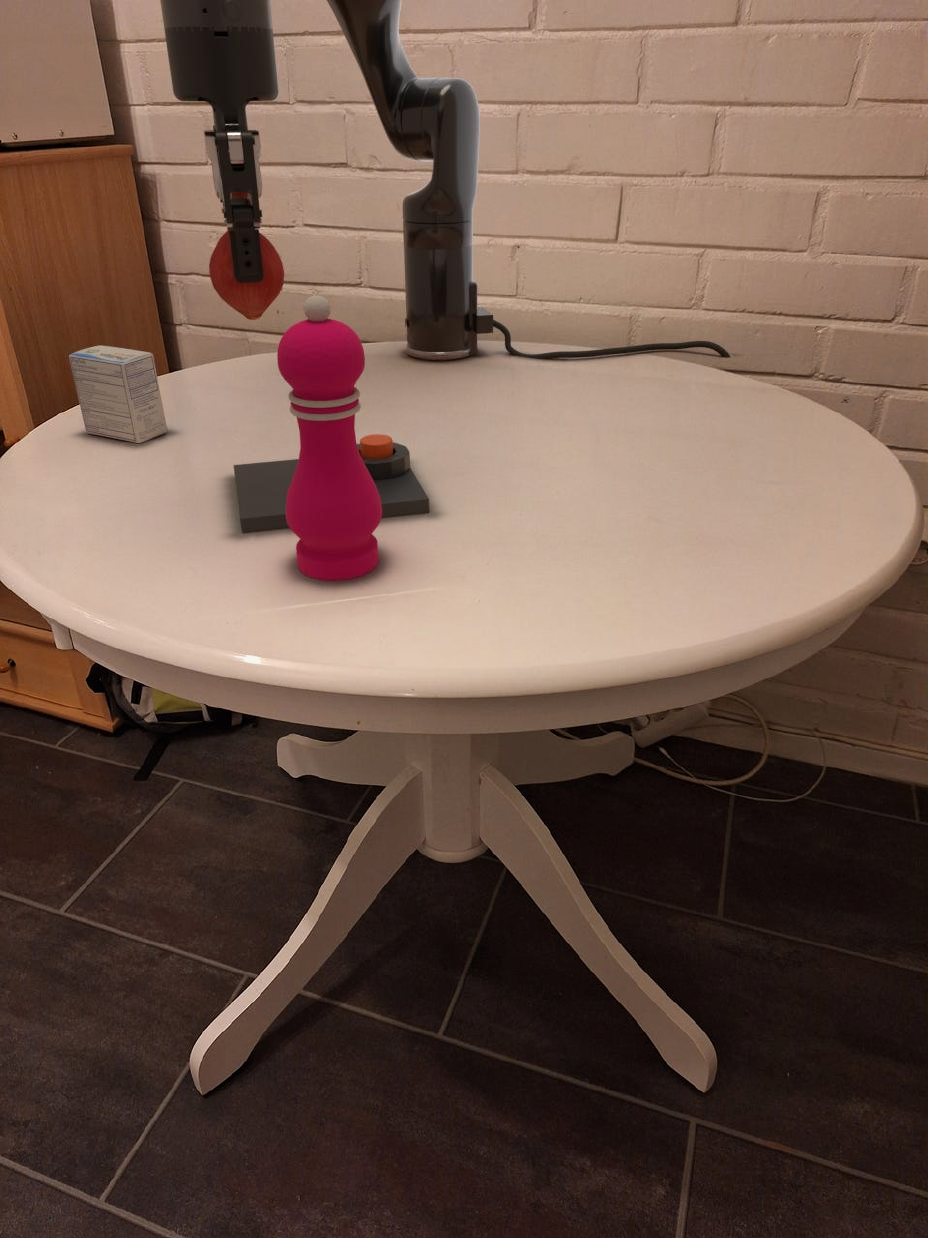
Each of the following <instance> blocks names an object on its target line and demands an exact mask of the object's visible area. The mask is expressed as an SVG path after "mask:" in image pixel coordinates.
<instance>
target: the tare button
mask: <svg viewBox="0 0 928 1238" xmlns="http://www.w3.org/2000/svg"><path fill="white" fill-rule="evenodd" d="M393 442H394V440H393V437H392V436H389V435H388V434H387V435H386V434H380V433H379V434H378V433H377V434H376V433H375V434H368V435H365V436H362V437H361V438H360V439H359V444H360V452H361V456H362V457H364V458H371V459H378V458H387V457H390V456H393Z"/></svg>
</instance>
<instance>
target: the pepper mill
mask: <svg viewBox="0 0 928 1238" xmlns="http://www.w3.org/2000/svg"><path fill="white" fill-rule="evenodd" d="M303 312H304V315H305V317H306V318H307V319H304V320H301V321H299V322H297V323H294V324H293V325H291V326H290V327H289V328H288V329H286V331H285V332H284V333H283V335H282V336H281V337H280V340H279V342H278V346H277V353H276V357H277V358H276V359H277V367H278V371H279V373H280V375H281V376H282V378H283V379H284V381H286V383H287V384H288V385H289V386H290V387H291V388H292V390H290V391H289V393H288V400H289V401H290V406H289V413H290V414H291V415H292V416H294V417H296V419H297V420H296V421H297V427H298V432H299V444H300V445H299V446H300V447H299V448H300V449H299V455H298V459H299V461H298V464H297V467H296V471H295V473H294V476H293V479H292V481H291V484H290V487H289V490H288V494H287V499H286V520H287V524H288V526H289V527H290V528H289V529H290V531H291V532H292V533H293V534H294V535H295V536H296V537H297V538H299V540H298V541H297V543H296V544H295V552H296V560H297V567H298V570H299V571H301V573H302V574H304V575H306V577H309V578H312V579H316V580H321V581H330V582H331V581H348V580H351V579H352V580H353V579H356V578H359V577H362V576H365V575H367V574H368V573H370V572H372V570H374V569H375V568H376V566H377V565H378V563H379V543H378V542H379V541H378V539H377V536H375V535H374V534H373V533H374V532H375V531H376V530H377V528H378V527H379V525H380V523H381V521H382V519H383V518H382V506H381V500H380V496H379V493H378V490H377V488H376V485H375V482H374V481H373V479H372V477H371V475H370V473H369V471H368V469H367V468H366V466H365V464H364V462H363V460H362V458H361V455H360V453H359V450H358V447H357V444H358V443H357V438H356V436H357V435H356V428H355V427H356V414H358V413H360V410H361V407H362V404H361V402H360V400H359V398H360V396H361V392H360V390H359V388H357V387H356V386H355V385H356V383H357V381H358V380H359V379H360V377H361V376H362V375H363V372H364V371H365V365H366V355H365V349H364V346H363V343H362V341H361V339H360V337H359V335H358V334H357V333H356V331H354V330H353V328H351V327H350V326H349V325H348V324H346V323H344V322H342V321H339V320H336V319H332V318H329V317H330V315H331V305H330V303H329V300H327V299H326V298H325V297H324V296H321V295H319V294H318V295H316V294H315V295H312V296H310V297H308V298H307V299H306V300H305V302H304V305H303Z"/></svg>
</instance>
